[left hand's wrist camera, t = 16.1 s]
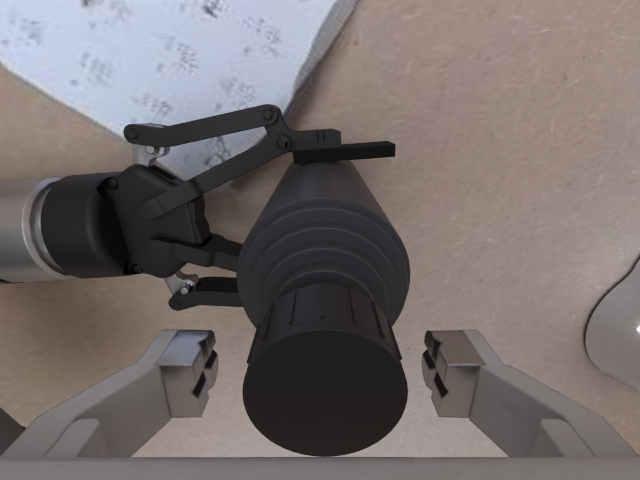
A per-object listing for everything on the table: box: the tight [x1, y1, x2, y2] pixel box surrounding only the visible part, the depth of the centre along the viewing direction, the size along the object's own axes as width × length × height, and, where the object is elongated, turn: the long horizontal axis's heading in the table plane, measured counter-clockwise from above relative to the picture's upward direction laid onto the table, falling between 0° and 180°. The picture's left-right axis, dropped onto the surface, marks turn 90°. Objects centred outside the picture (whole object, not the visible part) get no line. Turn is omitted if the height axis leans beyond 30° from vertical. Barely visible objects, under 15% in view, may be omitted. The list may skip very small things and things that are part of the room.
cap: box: [243, 284, 408, 457], centre depth 9 cm, size 4×4×2 cm
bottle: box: [236, 160, 410, 329], centre depth 20 cm, size 7×7×23 cm
